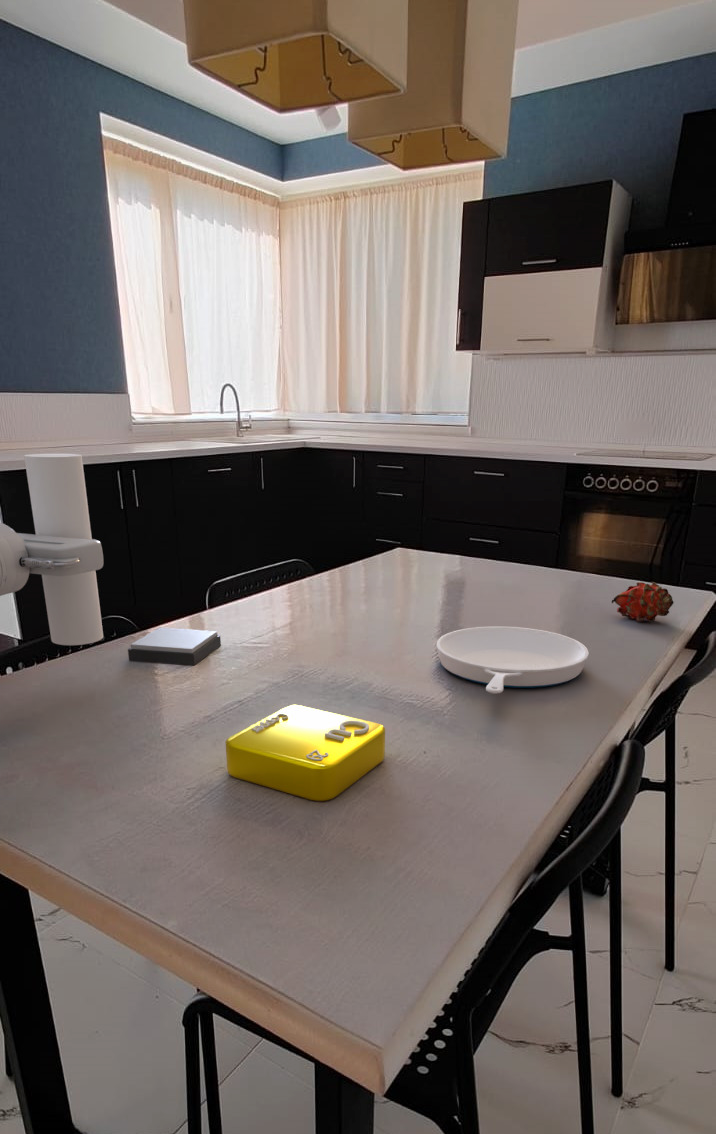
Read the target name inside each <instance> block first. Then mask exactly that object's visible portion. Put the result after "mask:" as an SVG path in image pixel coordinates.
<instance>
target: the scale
mask: <svg viewBox="0 0 716 1134" xmlns="http://www.w3.org/2000/svg"><path fill="white" fill-rule="evenodd" d="M221 646H222V642H221V635H220V634H218V631H217V630H204V629H188V628H178V627H177V628H174V627H157V628H156V629H154V630H152V631H151V632H149V633H147V634H146V635H144V636H142V637H141V638H139V639H137V640H135V641H134V642H132V643H130V647H129V648H128V649H127V654H128V661H131V662H132V661H133V662H143V663H144V662H145V663H157V664H167V665H168V664H169V665H183V666H196V665H198V664H199V663H200V662H201V661H202V660H204V659H205V658H206V657H208V656H209V655H211V654H212V653H213V652H214V651H216V650H217V649H219V648H220V647H221Z"/></svg>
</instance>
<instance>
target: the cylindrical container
mask: <svg viewBox="0 0 716 1134" xmlns="http://www.w3.org/2000/svg"><path fill="white" fill-rule="evenodd" d="M23 457H24V464H25V470H26V471H25V472H26V478H27V484H28V491H29V498H30V499H29V500H30V505H31V512H32V518H33V526H34V532H35V535H44V536H55V537H66V538H78V539H93V537H92V529H91V521H90V520H91V519H90V513H89V505H88V504H89V503H88V496H87V487H86V479H85V472H84V462H83V455H82V454H77V453H32V454H24V455H23ZM96 571H97V570H95V571H90V572H86V573H81V574H75V575H68V576H51V575H42V574H41V580H42V587H43V593H44V599H45V606H46V612H47V613H46V615H47V620H48V627H49V632H50V641H51V642H52V643H53V644H56V645H60V646H83V645H88V644H93V643H96V642H99V641H101V640H102V639H104V631H103V625H102V624H103V623H102V614H101V606H100V597H99V588H98V582H97V581H98V579H97V573H96Z"/></svg>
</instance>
